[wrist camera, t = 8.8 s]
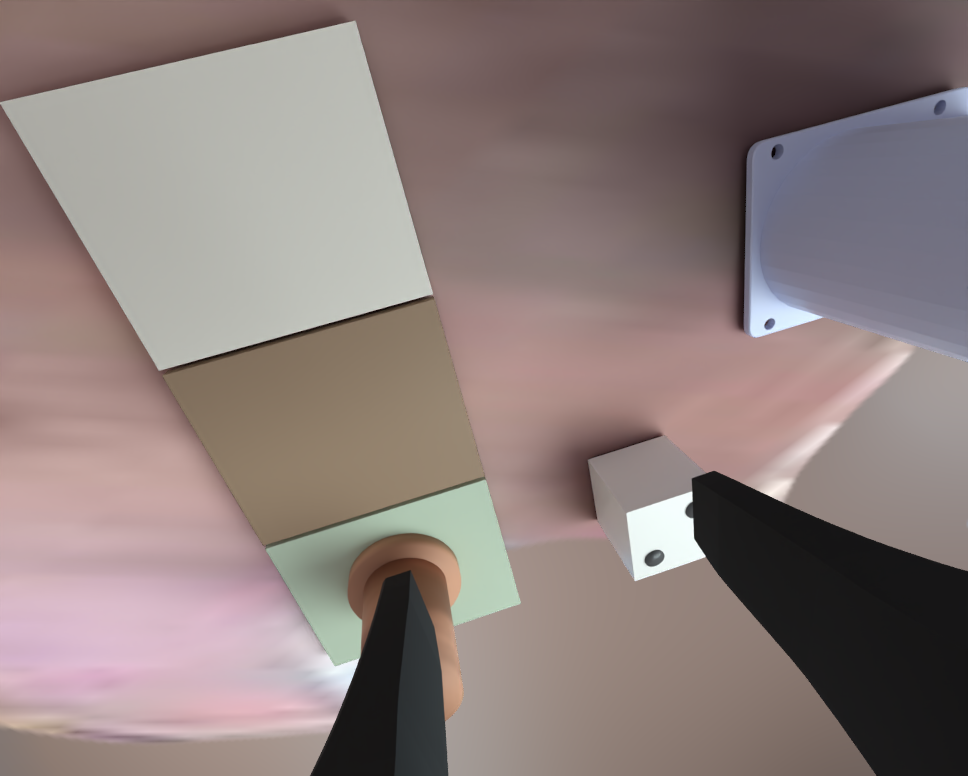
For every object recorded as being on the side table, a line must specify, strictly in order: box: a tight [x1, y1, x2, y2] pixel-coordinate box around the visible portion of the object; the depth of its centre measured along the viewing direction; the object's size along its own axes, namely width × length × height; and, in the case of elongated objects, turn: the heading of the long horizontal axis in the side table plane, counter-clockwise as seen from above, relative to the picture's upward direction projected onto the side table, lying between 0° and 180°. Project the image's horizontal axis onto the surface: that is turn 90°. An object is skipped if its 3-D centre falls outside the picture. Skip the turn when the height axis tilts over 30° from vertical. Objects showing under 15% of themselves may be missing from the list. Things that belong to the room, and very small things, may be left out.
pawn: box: [348, 533, 464, 721], centre depth 20 cm, size 5×5×6 cm
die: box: [588, 435, 706, 581], centre depth 22 cm, size 4×4×4 cm
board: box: [0, 21, 521, 666], centre depth 19 cm, size 10×25×1 cm, turn 13°
